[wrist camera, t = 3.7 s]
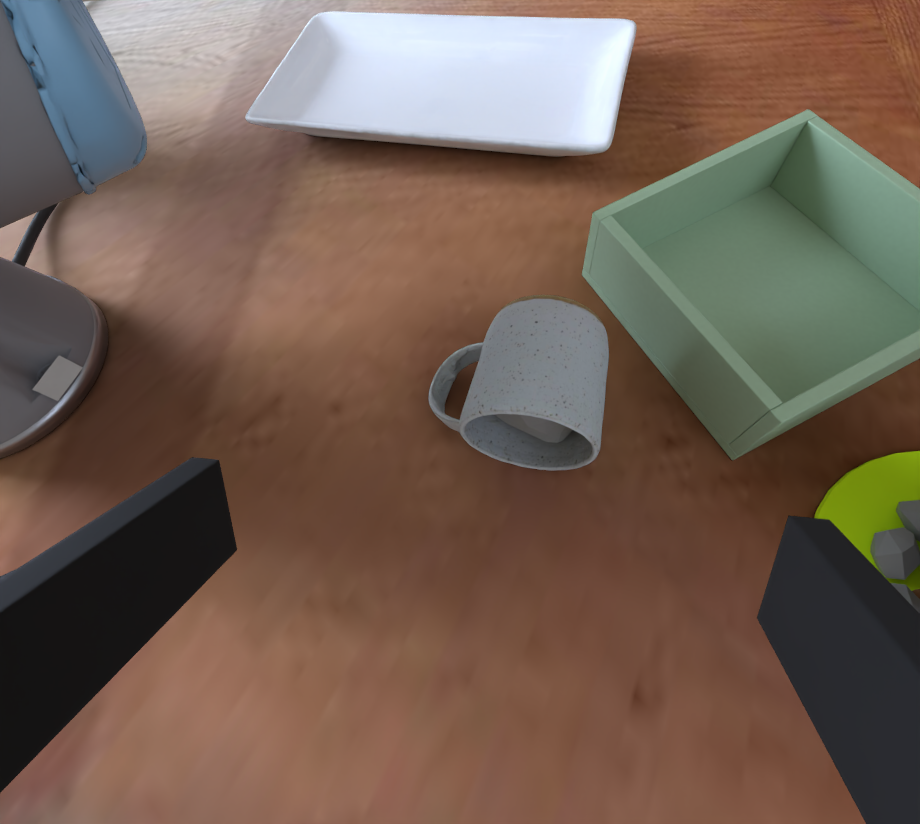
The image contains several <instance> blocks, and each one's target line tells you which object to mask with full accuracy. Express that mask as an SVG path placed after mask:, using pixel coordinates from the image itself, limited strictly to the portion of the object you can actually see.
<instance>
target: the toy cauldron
mask: <svg viewBox="0 0 920 824" xmlns="http://www.w3.org/2000/svg"><path fill="white" fill-rule="evenodd" d="M814 518H818V519H828V520H830V521H831V522H832V523H833V524H834V525H835V526H836V527H837V528H838V529H839V530H840V531H841V532H842V533H843V534H844V535H845V536H846V537H847V538H848V539H849V540H850V542H851V543H852V544H853V545H854V546H855V547H856V548H857V549H858V550H859V551H860V552H861V553H862V554H863V555H864V556H865V557H866V558H867V559H868V560H869V561H870V562H871V563H872V564H873V565H874V567H875V568H876V569H877V570H878V571H879V572H880V573H881V574H882V575H883V576H884V577H885V578H886V579H887V580H888V581H889V582H890V583H891V584H892V585H893V586H894V587H895V588H896V589H897V590H898V592H899V593H900V594H901V595H902V596H903V597H904V598H905V599H906V600H907V601H908V602H909V603H910V604H911V605H912V606H913V607H914V608H915V609H916V610H917V611H918V612H919V613H920V451H913V452H903V453H895V454H891V455H887V456H884V457H881V458H877V459H874V460H871V461H867V462H866V463H864V464H862V465H860V466H858V467H857V468H855V469H853V470H851V471H850V472H848V473H846V474H845V475H844V476H843V477H842V478H841V479H840V480H839V481H838V482H836V483H835V484H834V485H833V486H832V487H831V488H830V489H829V490H828V492H827V494H826V495H825V497H824V499H823V500H822V502H821V503H820V505H819V507H818V508H817V510H816V513H815V516H814Z"/></svg>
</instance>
